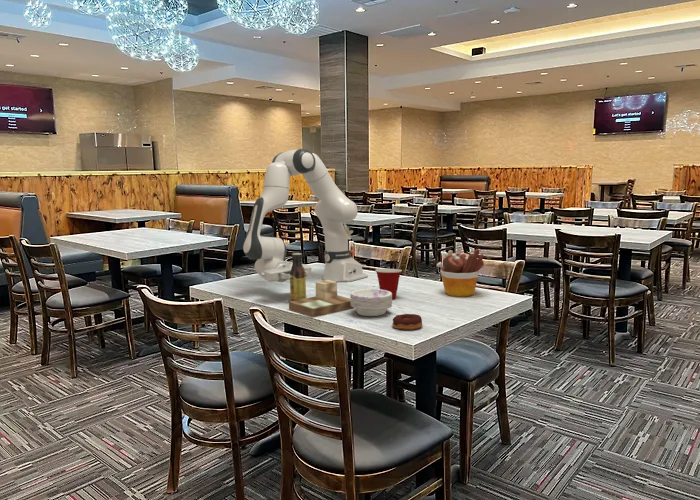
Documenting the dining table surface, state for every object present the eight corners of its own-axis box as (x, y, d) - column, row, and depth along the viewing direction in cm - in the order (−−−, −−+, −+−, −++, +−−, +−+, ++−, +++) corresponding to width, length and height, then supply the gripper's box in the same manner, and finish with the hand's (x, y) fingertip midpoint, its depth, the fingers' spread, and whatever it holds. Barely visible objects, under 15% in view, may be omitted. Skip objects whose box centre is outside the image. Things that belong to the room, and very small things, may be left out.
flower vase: (344, 272, 278) (343, 224, 274) (318, 268, 289) (316, 222, 286) (359, 268, 288) (358, 222, 284) (333, 265, 299) (332, 220, 296)
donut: (386, 328, 178) (385, 316, 178) (403, 321, 186) (403, 310, 185) (411, 333, 172) (411, 321, 171) (428, 326, 179) (428, 314, 178)
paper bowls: (395, 308, 202) (394, 288, 201) (388, 319, 187) (388, 297, 186) (355, 307, 205) (355, 287, 204) (346, 318, 191) (345, 296, 190)
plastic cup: (404, 295, 223) (404, 267, 221) (398, 301, 213) (398, 272, 211) (379, 294, 226) (379, 266, 225) (372, 300, 216) (371, 271, 214)
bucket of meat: (429, 292, 227) (429, 246, 224) (458, 287, 236) (458, 242, 233) (463, 301, 211) (464, 251, 208) (493, 295, 219) (493, 247, 217)
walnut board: (330, 300, 217) (330, 292, 217) (356, 307, 205) (355, 299, 204) (288, 309, 205) (288, 301, 204) (313, 317, 192) (312, 308, 192)
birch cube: (328, 294, 215) (327, 279, 214) (337, 297, 210) (336, 282, 209) (315, 297, 211) (315, 282, 210) (324, 299, 206) (324, 284, 205)
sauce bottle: (290, 300, 219) (289, 252, 216) (306, 300, 219) (304, 251, 216) (290, 304, 212) (288, 254, 209) (306, 303, 213) (304, 254, 210)
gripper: (257, 266, 217) (275, 271, 206) (300, 260, 230) (318, 264, 219) (258, 282, 218) (276, 287, 207) (300, 275, 231) (319, 279, 220)
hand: (298, 275), depth 213 cm, fingers closed on sauce bottle, 6 cm apart
